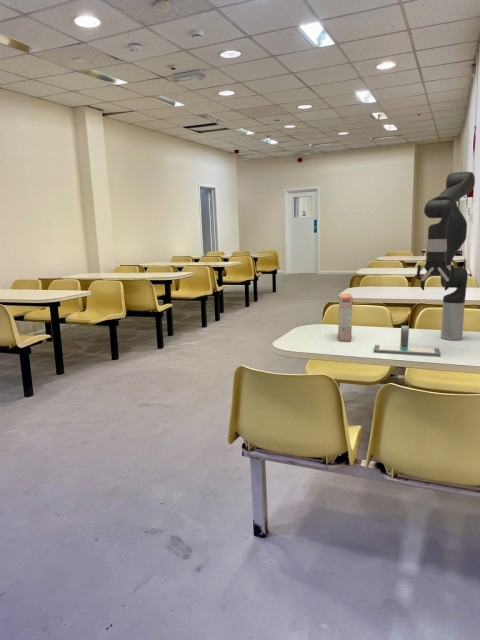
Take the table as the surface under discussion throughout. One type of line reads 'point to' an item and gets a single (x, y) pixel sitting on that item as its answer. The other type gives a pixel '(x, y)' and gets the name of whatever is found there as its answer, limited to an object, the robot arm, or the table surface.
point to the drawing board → (409, 352)
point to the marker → (404, 338)
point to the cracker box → (345, 317)
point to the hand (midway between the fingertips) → (434, 290)
